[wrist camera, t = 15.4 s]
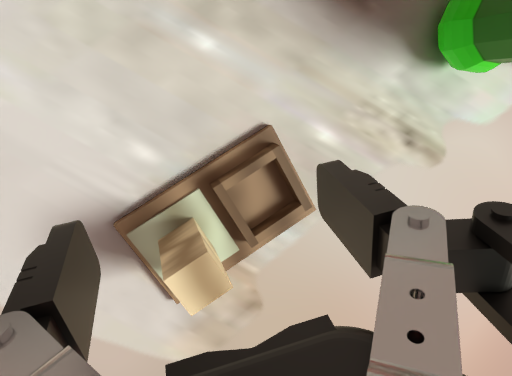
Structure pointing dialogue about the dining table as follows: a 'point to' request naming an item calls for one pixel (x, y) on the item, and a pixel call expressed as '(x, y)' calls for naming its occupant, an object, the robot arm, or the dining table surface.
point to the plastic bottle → (476, 34)
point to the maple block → (192, 267)
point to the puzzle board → (224, 204)
